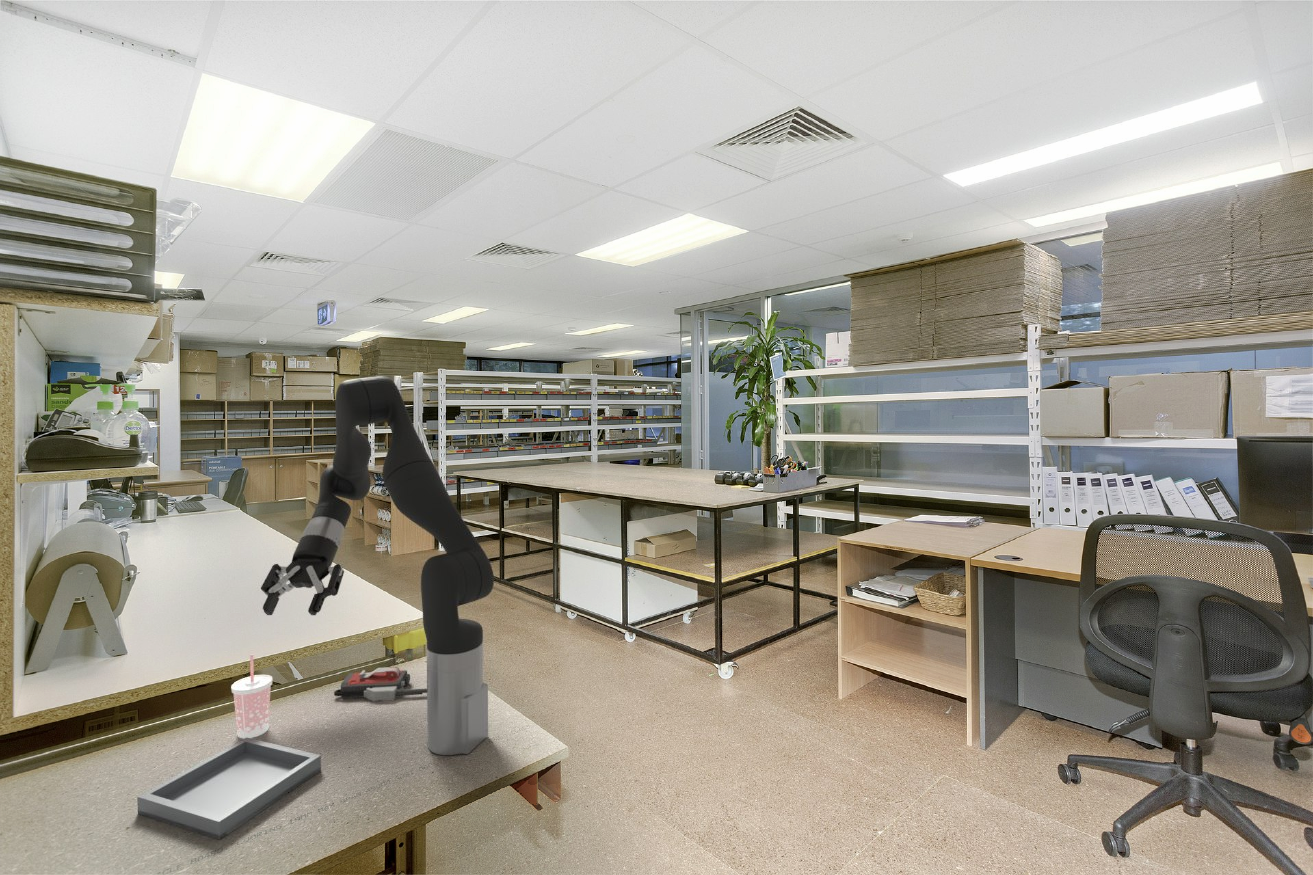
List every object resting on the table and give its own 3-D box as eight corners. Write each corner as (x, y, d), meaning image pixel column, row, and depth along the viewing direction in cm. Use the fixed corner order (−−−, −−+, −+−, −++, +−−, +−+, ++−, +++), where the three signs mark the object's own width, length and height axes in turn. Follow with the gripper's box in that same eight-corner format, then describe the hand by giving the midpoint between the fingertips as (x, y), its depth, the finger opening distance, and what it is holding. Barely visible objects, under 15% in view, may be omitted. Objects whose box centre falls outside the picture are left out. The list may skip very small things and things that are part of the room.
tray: (321, 770, 94) (320, 755, 94) (219, 839, 78) (219, 821, 78) (246, 751, 98) (246, 737, 98) (137, 813, 83) (137, 796, 83)
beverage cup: (281, 722, 108) (279, 647, 107) (259, 740, 102) (257, 661, 101) (247, 722, 108) (246, 647, 107) (223, 740, 102) (221, 661, 101)
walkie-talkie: (329, 706, 115) (435, 699, 118) (328, 683, 114) (435, 678, 118) (345, 685, 123) (444, 679, 126) (345, 664, 123) (444, 659, 126)
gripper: (278, 533, 123) (243, 604, 113) (347, 533, 124) (319, 604, 113) (293, 551, 129) (261, 622, 118) (359, 552, 130) (333, 621, 119)
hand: (289, 613), depth 116 cm, fingers open, 8 cm apart
